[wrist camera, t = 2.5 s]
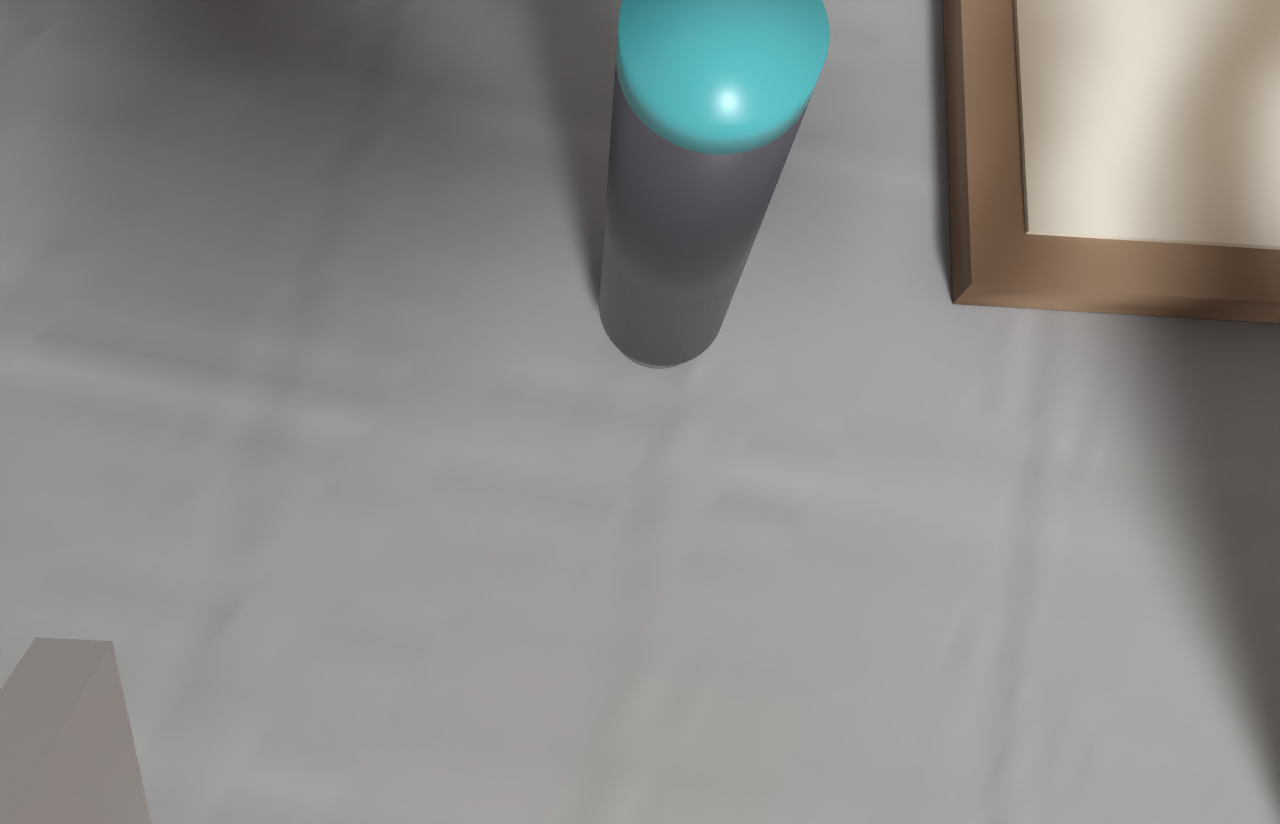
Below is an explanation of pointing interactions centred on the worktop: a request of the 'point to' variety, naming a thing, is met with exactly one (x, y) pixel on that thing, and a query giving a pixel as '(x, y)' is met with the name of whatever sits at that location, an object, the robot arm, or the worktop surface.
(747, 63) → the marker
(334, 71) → the worktop surface
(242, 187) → the worktop surface
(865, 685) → the worktop surface
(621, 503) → the worktop surface
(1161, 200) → the writing board
